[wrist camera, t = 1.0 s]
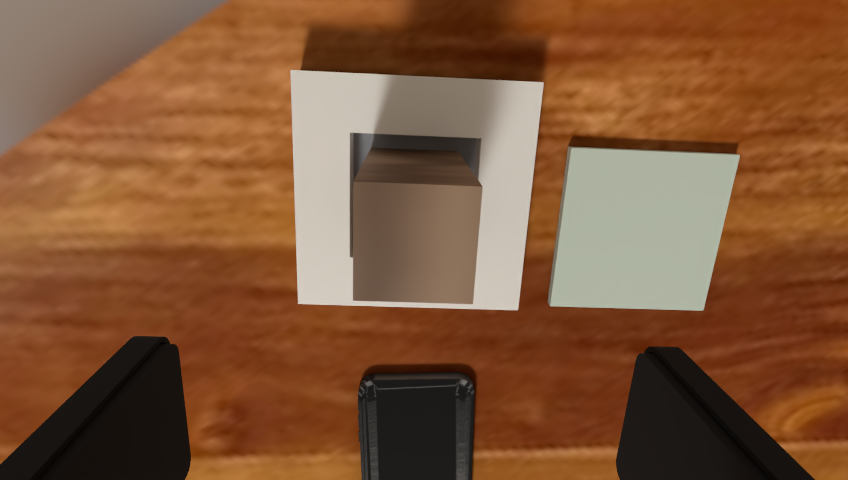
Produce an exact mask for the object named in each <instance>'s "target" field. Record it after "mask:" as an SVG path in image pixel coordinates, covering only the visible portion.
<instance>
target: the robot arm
mask: <svg viewBox="0 0 848 480" xmlns="http://www.w3.org/2000/svg"><path fill="white" fill-rule="evenodd" d="M190 461H191V453H190V445H189V436H188V427H187V419H186V410H185V401H184V393H183V384H182V376H181V367H180V358H179V351H178V347H177V346H176V345H175V344H170V342H169V340H168V339H167V338H166V337H150V336H134V337H132V338H131V339H130V340H129V341H128V342H127V343H126V344H125V345H124V346H123V347H122V348H120V349H119V350H118V351H117V352H116V353H115V354H114V355H113V356H112V357H111V358H110V359H109V360H108V361H107V362H106V363H105V364H104V365H103V366H102V367H101V368H100V369H99V370H98V371H97V372H96V373H95V374H94V375H93V376H91V377H90V378H89V379H88V380H87V381H86V382H85V383H84V384H83V385H82V386H81V387H80V388H79V389H78V390H77V391H76V392H75V393H74V394H73V395H72V396H71V397H70V398H69V399H68V400H67V401H66V402H65V403H64V404H62V405H61V406H60V407H59V408H58V409H57V410H56V411H55V412H54V413H53V414H52V415H51V416H50V417H49V418H48V419H47V420H46V421H45V422H44V423H43V424H42V425H41V426H40V427H39V428H38V429H37V430H36V431H35V432H33V433H32V434H31V435H30V436H29V437H28V438H27V439H26V440H25V441H24V442H23V443H22V444H21V445H20V446H19V447H18V448H17V449H16V450H15V451H14V452H13V453H12V454H11V455H10V456H9V457H8V458H7V459H6V460H5V461H3V462H2V463H1V464H0V480H185V478H186V476H187V474H188V471H189V467H190ZM616 467H617V472H618V476H619V478H620V480H815V479H814V478H813V477H812V476H811V475H810V474H809V473H808V472H807V471H805V470H804V469H803V468H802V467H801V466H800V465H799V464H798V463H797V462H796V461H795V460H794V459H793V458H792V457H791V456H790V455H789V454H788V453H787V452H786V451H785V450H784V449H783V448H782V447H781V446H780V445H779V444H778V443H777V442H776V441H775V440H774V439H773V438H772V437H771V436H770V435H769V434H768V433H766V432H765V431H764V430H763V429H762V428H761V427H760V426H759V425H758V424H757V423H756V422H755V421H754V420H753V419H752V418H751V417H750V416H749V415H748V414H747V413H746V412H745V411H744V410H743V409H742V408H741V407H740V406H739V405H738V404H737V403H736V402H735V401H734V400H733V399H732V398H731V397H730V396H729V395H727V394H726V393H725V392H724V391H723V390H722V389H721V388H720V387H719V386H718V385H717V384H716V383H715V382H714V381H713V380H712V379H711V378H710V377H709V376H708V375H707V374H706V373H705V372H704V371H703V370H702V369H701V368H700V367H699V366H698V365H697V364H696V363H695V362H694V361H693V360H692V359H691V358H689V357H688V356H687V355H686V354H685V353H684V352H683V351H682V350H681V349H680V348H678V347H648V348H647V349H646V350H645V352H644V353H640V354H639V355H638V356H637V359H636V362H635V368H634V373H633V378H632V383H631V388H630V393H629V398H628V403H627V408H626V413H625V418H624V423H623V428H622V433H621V438H620V443H619V448H618V453H617V459H616Z"/></svg>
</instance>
